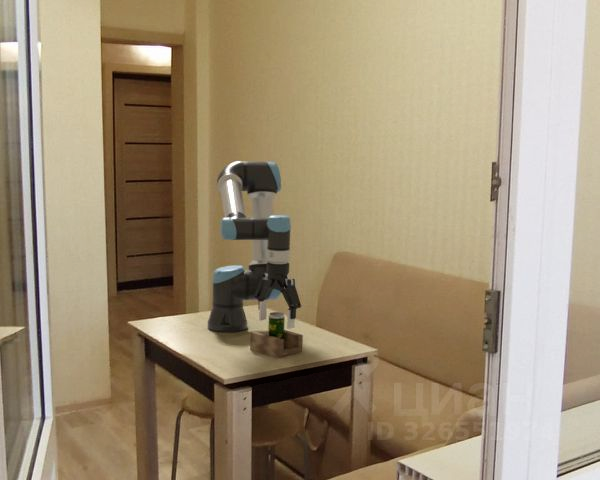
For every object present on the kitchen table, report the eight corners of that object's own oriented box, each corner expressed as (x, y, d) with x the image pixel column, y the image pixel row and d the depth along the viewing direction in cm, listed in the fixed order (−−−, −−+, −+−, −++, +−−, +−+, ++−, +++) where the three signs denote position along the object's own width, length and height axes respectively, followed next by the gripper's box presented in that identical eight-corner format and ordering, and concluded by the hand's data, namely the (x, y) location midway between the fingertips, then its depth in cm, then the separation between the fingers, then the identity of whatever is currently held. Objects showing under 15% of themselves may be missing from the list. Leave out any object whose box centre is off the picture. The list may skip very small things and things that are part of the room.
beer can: (275, 345, 236) (276, 311, 234) (287, 348, 232) (288, 313, 231) (264, 348, 232) (265, 313, 230) (276, 351, 228) (277, 316, 227)
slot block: (250, 349, 233) (250, 332, 232) (273, 343, 241) (273, 327, 240) (278, 358, 223) (279, 340, 223) (302, 352, 231) (302, 334, 231)
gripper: (244, 257, 234) (243, 318, 237) (297, 268, 217) (295, 333, 220) (260, 255, 240) (259, 314, 243) (313, 266, 223) (311, 329, 226)
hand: (276, 323), depth 232 cm, fingers open, 13 cm apart
